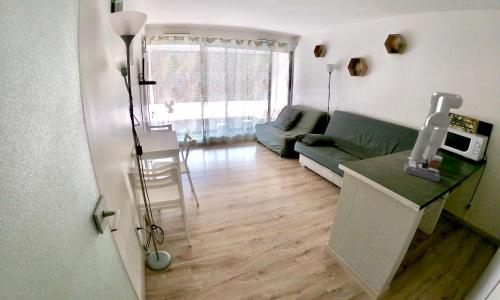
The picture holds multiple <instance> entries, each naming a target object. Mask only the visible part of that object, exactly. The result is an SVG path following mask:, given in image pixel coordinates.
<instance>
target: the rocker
mask: <svg viewBox="0 0 500 300" xmlns="http://www.w3.org/2000/svg"><path fill="white" fill-rule="evenodd" d="M408 164H409V167H410V168H414V169H416V166H417V162H415V161H411V160H409V159H408Z"/></svg>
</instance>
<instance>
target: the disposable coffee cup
mask: <svg viewBox="0 0 500 300" xmlns="http://www.w3.org/2000/svg"><path fill="white" fill-rule="evenodd" d="M442 162H443V156H439V155H437V154H436V155H435V157H434V159H433V161H430V163H429V165H428V167H427V169H429V168H433V169H436V170H437V168H438V166H439V165H440V163H442Z"/></svg>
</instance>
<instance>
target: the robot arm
mask: <svg viewBox="0 0 500 300" xmlns="http://www.w3.org/2000/svg"><path fill="white" fill-rule="evenodd" d="M463 99H464V98H463V96H461V95H460V94H456V93H448V92H440V91H438V92H437V91H436V92H434V93H432V95H431V98H430V107H429V108H430V109H429V110H428V113H427V116H426V119H425V121H424V122H423V123H424V124H423V125H422V126H421V127H420V128H419V131H418V136H417V137H416V141H415V144H414V147H413V149H412V150H411V151H412V152H411V154H410V155H409V156H407V159H408V161H409V160H411V161H415V162H416V164H417V163H418V164H422V168H425V169H427V167H428V165H429V163H430V161H433V159H434V157H435V155H437V152H438V150H439V149H441V146H442V144H443V142H444V140H445V137H446V135H447V134H448V129H449V127H450V124H451V122H452V119H451V116H449V115H450V111H451V109H453V110H454V109H455V110H459V109H461V107H462V106H463V101H464V100H463Z"/></svg>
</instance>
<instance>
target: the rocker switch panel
mask: <svg viewBox="0 0 500 300" xmlns="http://www.w3.org/2000/svg"><path fill="white" fill-rule="evenodd" d="M403 171H404V173H406V174H408V175H412V176H416V177H420V178H423V179H426V180H430V181H434V182H440V180H441V177H442V176H440V173H439V172H435V171H431V170H429V169H427V170H423V169H420V167H419V165H416V169H414V168H410V167H409V163H407V162H405V163H404V166H403Z"/></svg>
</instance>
